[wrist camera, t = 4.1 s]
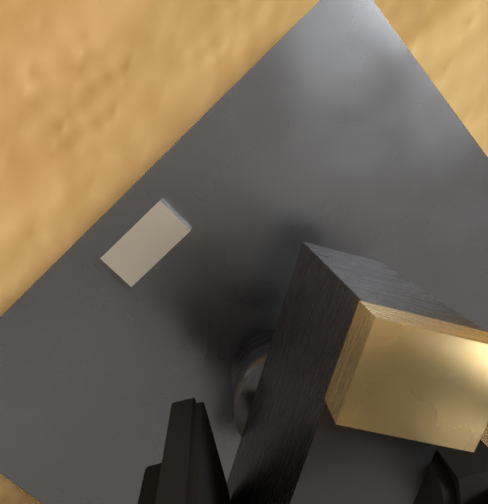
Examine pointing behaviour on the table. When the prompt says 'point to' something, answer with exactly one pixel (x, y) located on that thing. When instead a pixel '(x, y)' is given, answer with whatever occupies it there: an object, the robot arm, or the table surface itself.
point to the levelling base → (237, 251)
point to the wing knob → (354, 387)
